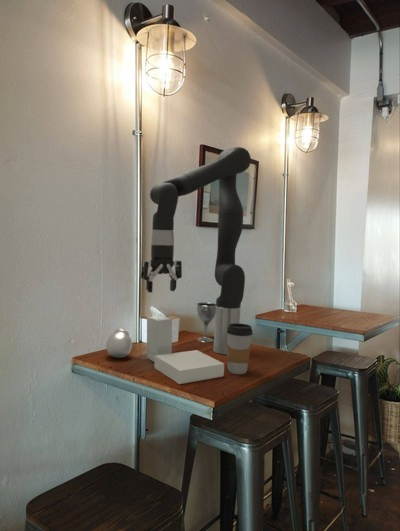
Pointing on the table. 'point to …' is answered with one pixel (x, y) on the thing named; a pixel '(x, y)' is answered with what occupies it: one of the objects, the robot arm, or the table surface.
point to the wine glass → (206, 317)
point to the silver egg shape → (119, 343)
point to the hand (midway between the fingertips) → (161, 291)
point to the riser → (189, 366)
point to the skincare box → (158, 336)
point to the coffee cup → (238, 347)
